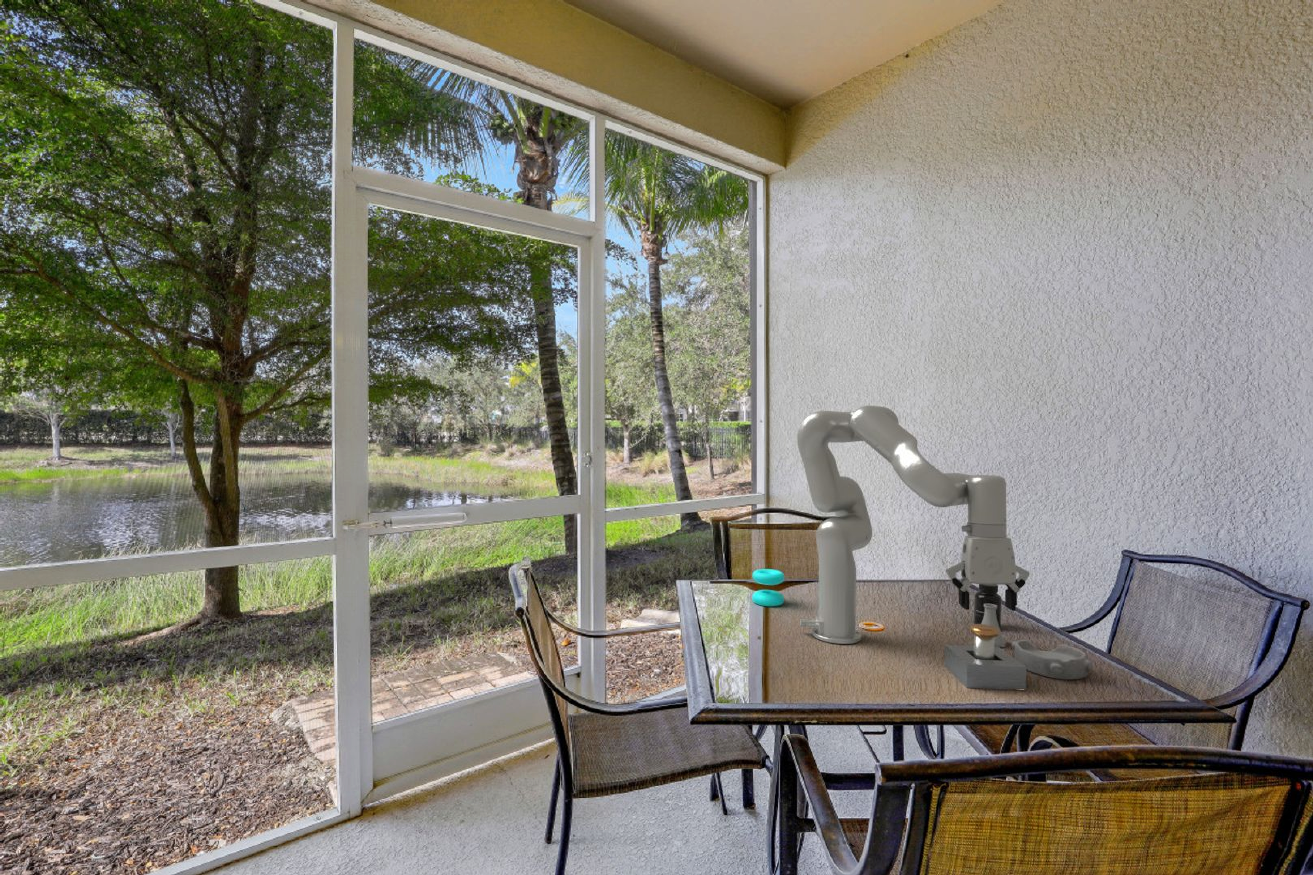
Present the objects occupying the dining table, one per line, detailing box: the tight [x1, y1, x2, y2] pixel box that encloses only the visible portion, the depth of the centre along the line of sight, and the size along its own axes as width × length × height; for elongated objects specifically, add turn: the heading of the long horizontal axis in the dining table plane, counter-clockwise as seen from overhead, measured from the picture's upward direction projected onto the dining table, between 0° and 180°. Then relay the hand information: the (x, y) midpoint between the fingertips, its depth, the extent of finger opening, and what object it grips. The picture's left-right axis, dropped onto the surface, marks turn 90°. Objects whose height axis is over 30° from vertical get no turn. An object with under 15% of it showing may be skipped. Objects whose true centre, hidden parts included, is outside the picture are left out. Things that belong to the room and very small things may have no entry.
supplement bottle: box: [973, 584, 1003, 629], centre depth 172 cm, size 7×7×12 cm
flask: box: [981, 604, 1006, 648], centre depth 157 cm, size 7×7×10 cm
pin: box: [970, 623, 998, 660], centre depth 135 cm, size 5×5×11 cm
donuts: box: [751, 568, 785, 607], centre depth 192 cm, size 10×10×10 cm
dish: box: [1011, 639, 1093, 680], centre depth 140 cm, size 14×14×5 cm
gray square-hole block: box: [944, 644, 1027, 691], centre depth 135 cm, size 12×12×5 cm
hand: (987, 608), depth 134 cm, fingers open, 9 cm apart
